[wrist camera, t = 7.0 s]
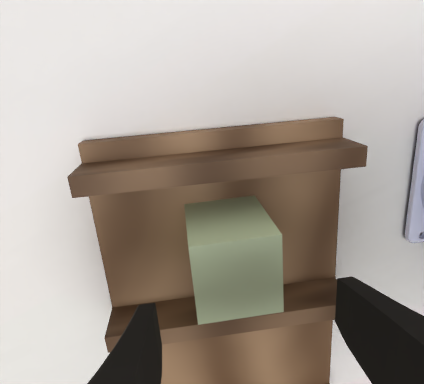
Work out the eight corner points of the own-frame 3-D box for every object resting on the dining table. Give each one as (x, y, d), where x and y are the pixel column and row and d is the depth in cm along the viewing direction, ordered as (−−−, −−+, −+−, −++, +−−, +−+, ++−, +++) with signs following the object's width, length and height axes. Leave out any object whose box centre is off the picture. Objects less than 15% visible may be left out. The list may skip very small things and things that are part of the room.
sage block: (254, 195, 19) (282, 234, 14) (257, 257, 20) (283, 311, 15) (184, 204, 18) (188, 247, 14) (192, 266, 20) (198, 324, 15)
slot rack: (334, 116, 19) (369, 125, 16) (322, 391, 26) (344, 437, 23) (82, 140, 18) (62, 154, 14) (140, 421, 25) (135, 473, 21)
